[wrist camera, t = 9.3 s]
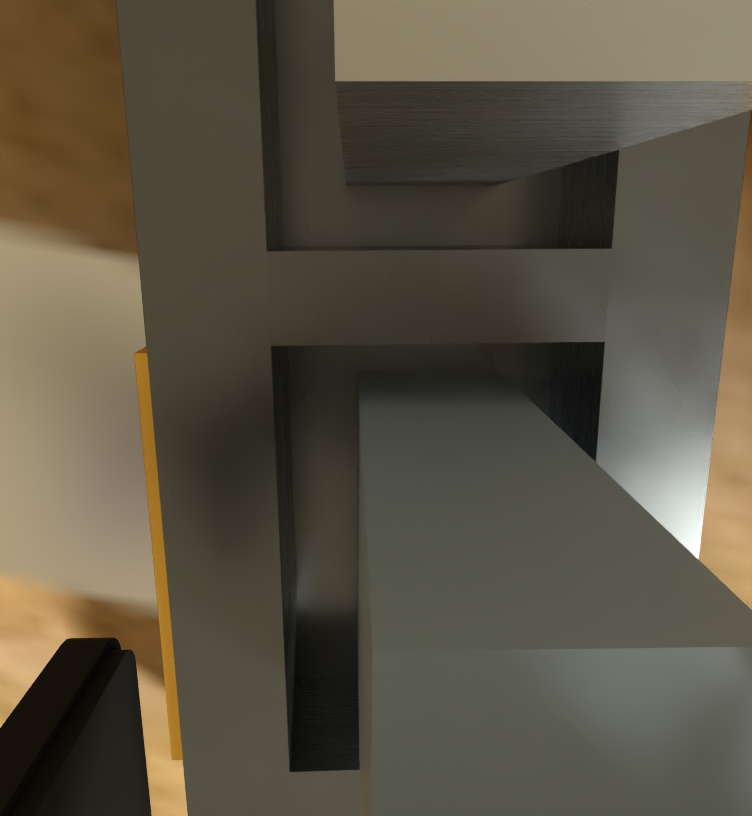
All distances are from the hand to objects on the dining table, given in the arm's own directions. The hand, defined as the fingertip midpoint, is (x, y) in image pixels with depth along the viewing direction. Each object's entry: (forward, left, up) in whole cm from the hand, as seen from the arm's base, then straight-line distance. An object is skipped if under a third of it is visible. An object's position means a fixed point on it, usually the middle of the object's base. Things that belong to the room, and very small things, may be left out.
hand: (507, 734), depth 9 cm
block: (0, 0, -7) cm, 7 cm away
